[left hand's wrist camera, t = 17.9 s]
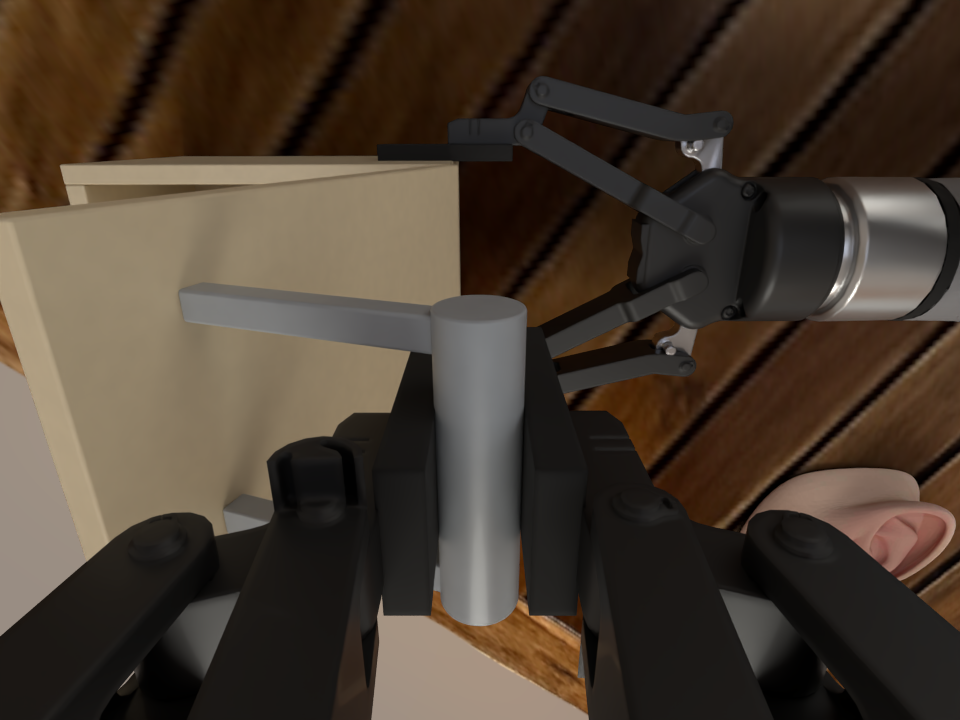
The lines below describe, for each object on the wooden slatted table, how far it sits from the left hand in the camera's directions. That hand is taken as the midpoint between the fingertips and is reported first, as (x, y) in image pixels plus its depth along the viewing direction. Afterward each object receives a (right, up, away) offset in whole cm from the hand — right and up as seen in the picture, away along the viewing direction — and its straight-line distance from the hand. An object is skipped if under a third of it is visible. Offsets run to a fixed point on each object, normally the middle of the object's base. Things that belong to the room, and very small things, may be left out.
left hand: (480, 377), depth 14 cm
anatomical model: (+27, -13, +30) cm, 42 cm away
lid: (-5, +1, +3) cm, 6 cm away
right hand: (-5, +6, +16) cm, 18 cm away
